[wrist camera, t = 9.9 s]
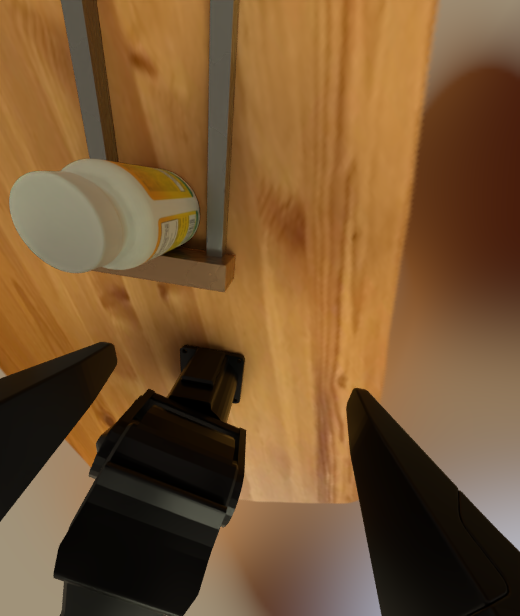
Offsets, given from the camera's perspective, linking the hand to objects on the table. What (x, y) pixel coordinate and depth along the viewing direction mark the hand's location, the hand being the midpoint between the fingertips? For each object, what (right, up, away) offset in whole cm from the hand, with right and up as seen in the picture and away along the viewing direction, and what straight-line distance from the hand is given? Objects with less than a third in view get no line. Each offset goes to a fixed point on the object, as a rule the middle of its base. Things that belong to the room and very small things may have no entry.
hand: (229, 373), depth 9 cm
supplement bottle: (-6, +10, +10) cm, 15 cm away
